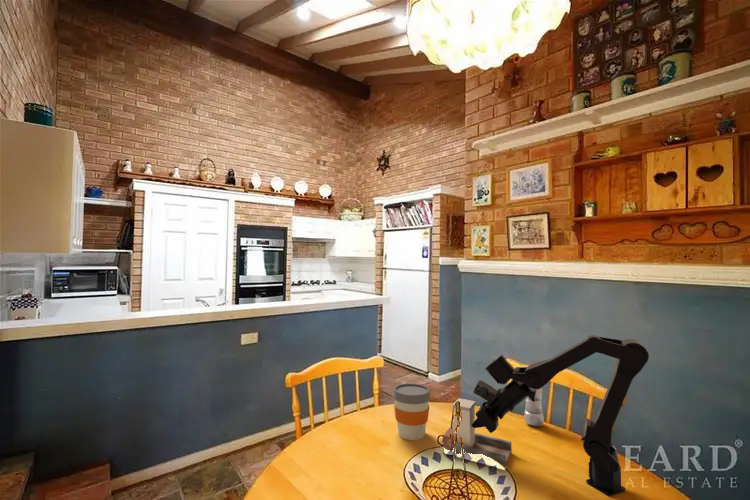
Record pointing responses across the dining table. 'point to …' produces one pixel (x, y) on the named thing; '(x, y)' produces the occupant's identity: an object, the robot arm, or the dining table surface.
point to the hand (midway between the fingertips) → (472, 426)
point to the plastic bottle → (534, 410)
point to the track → (482, 446)
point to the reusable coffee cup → (411, 410)
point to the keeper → (465, 422)
